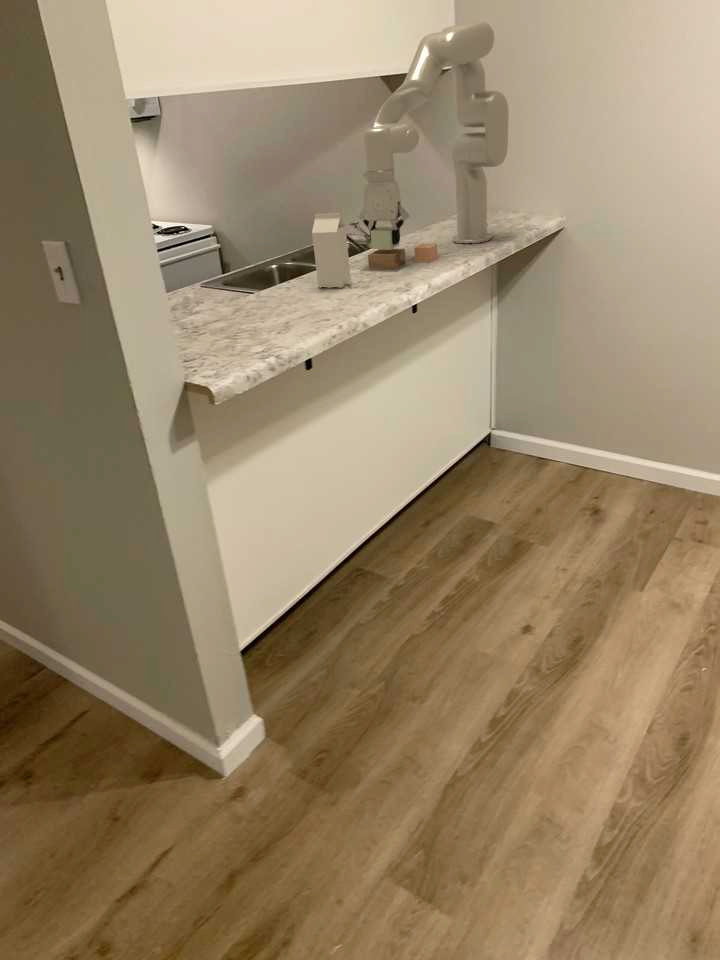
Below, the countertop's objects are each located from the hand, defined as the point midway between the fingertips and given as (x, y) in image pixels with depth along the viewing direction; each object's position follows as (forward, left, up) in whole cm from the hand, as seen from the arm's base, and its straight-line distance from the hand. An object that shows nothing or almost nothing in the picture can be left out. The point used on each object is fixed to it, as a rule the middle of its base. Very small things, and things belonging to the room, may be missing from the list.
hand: (385, 242), depth 211 cm
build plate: (0, 0, -7) cm, 7 cm away
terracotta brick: (-8, +9, -7) cm, 14 cm away
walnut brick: (0, 0, -7) cm, 7 cm away
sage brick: (0, 0, -1) cm, 1 cm away
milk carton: (+19, -7, -8) cm, 22 cm away
